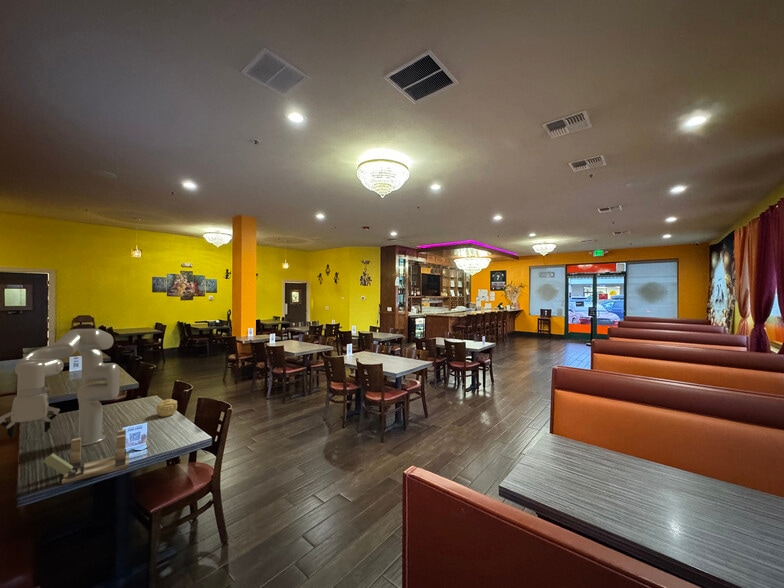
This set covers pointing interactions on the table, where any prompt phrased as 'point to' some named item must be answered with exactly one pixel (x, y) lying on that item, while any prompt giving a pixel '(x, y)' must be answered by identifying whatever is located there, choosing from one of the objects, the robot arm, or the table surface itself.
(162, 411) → the beige rounded lump
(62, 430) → the table surface
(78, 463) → the stool seat
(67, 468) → the hinged leg
